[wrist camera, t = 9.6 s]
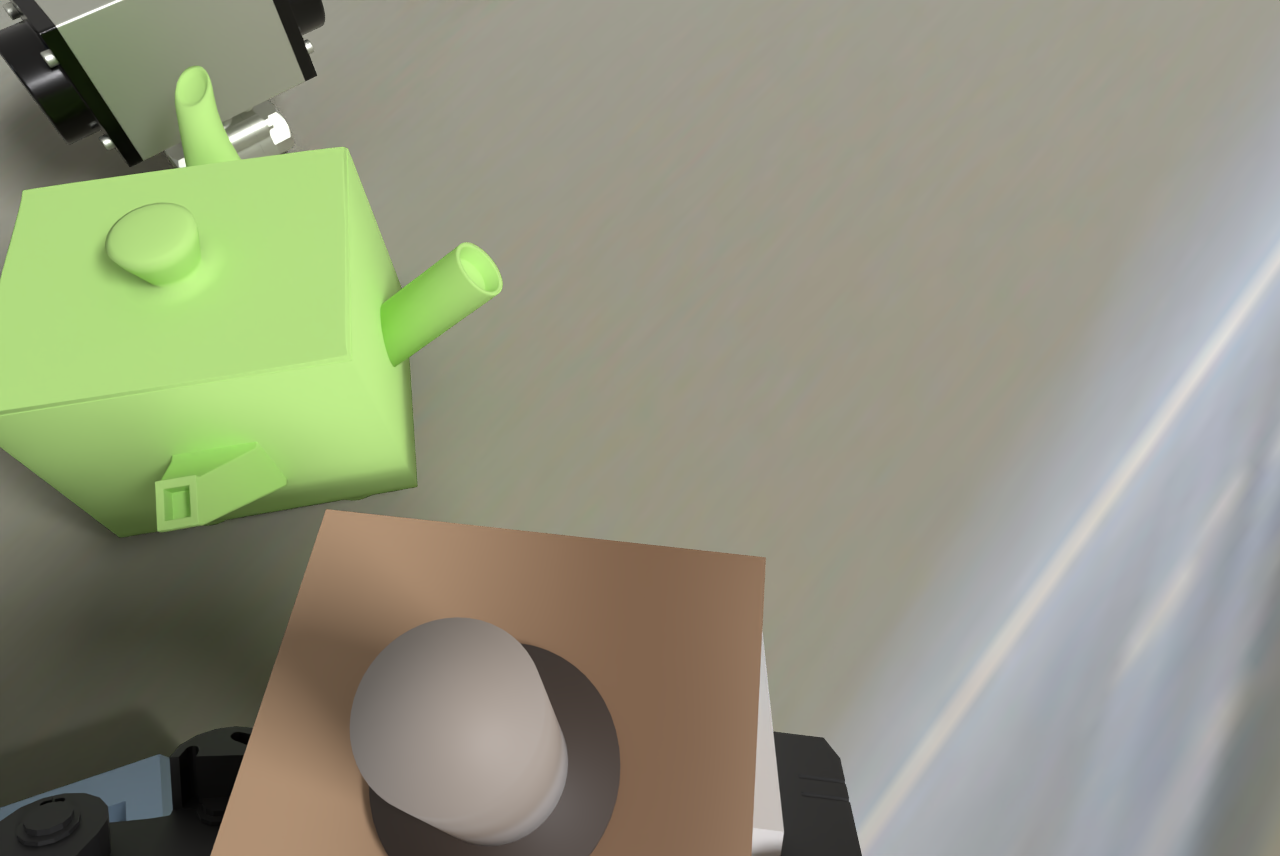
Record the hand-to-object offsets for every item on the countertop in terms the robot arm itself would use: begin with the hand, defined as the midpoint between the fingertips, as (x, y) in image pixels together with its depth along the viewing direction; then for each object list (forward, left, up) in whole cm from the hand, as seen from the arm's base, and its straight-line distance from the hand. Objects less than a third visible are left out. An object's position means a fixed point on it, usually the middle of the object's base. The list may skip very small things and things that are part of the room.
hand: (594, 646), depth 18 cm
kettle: (-9, +17, -12) cm, 23 cm away
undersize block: (-2, -3, -3) cm, 5 cm away
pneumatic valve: (-9, +32, -12) cm, 35 cm away
